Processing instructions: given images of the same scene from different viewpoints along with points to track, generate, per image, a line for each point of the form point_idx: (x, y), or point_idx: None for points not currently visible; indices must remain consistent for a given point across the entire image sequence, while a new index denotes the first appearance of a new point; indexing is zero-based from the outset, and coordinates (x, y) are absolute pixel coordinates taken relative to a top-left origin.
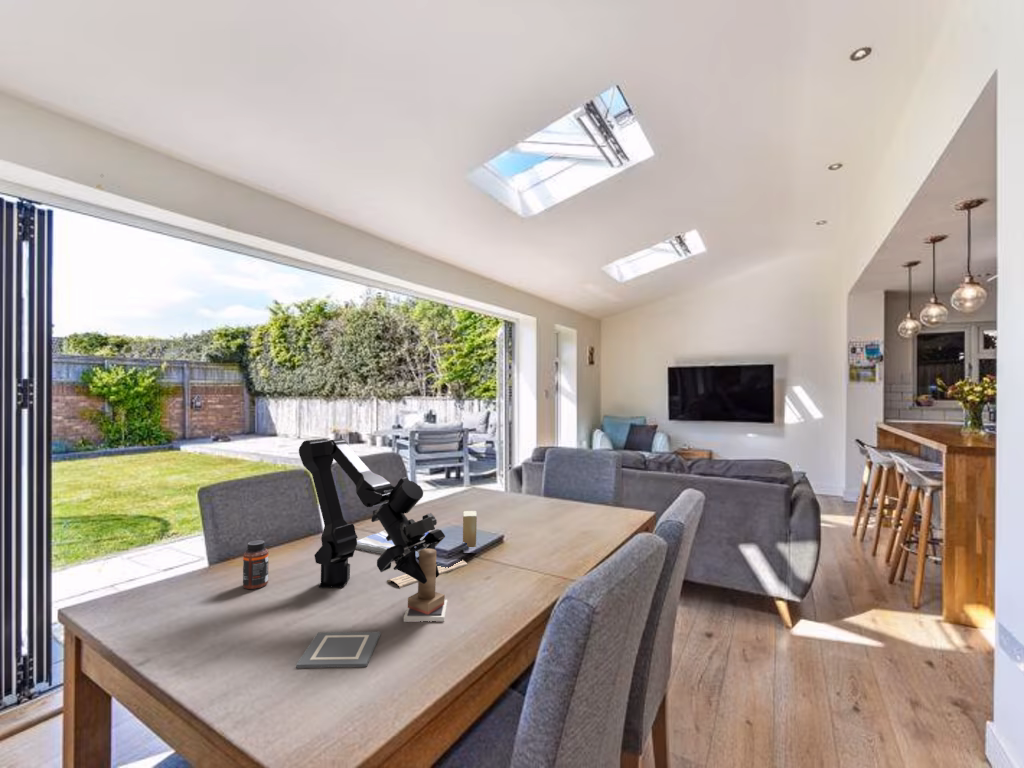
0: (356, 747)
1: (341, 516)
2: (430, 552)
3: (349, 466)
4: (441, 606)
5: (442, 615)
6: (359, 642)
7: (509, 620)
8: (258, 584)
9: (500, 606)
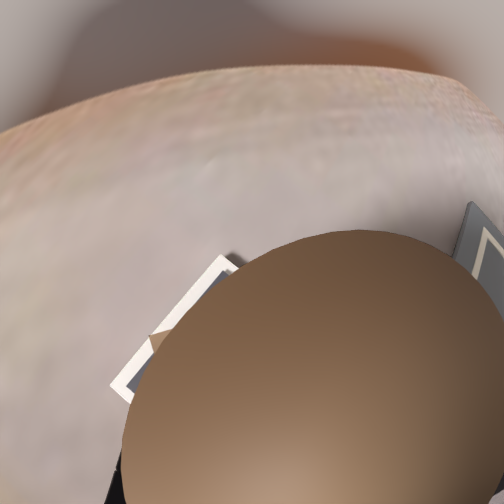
0: (465, 92)
1: None
2: (369, 365)
3: None
4: None
5: (218, 268)
6: None
7: (67, 135)
8: None
9: (9, 219)
